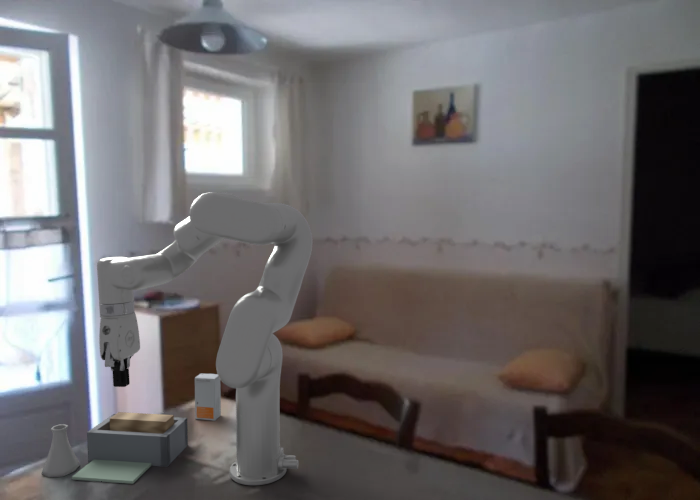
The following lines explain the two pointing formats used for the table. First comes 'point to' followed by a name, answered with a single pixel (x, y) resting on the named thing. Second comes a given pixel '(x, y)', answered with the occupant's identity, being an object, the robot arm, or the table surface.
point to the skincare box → (207, 397)
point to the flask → (60, 454)
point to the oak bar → (141, 422)
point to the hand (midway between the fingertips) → (121, 385)
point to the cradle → (137, 444)
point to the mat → (112, 471)
